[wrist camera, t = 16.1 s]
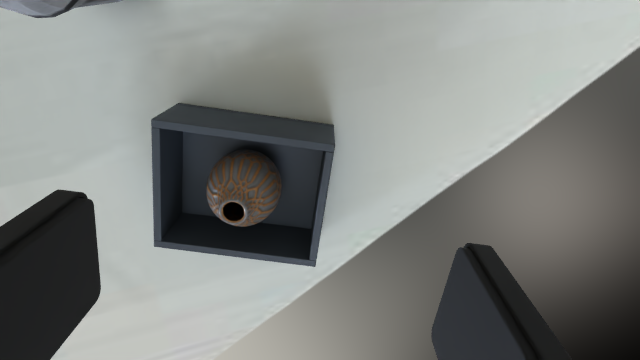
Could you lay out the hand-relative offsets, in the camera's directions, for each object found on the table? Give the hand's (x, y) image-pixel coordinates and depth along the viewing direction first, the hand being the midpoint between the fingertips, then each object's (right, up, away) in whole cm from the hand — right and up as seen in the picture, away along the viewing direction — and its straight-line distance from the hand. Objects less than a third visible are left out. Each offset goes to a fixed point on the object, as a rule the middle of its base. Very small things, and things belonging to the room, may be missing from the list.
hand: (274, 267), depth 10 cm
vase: (-6, +3, +31) cm, 32 cm away
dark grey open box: (-6, +3, +32) cm, 32 cm away
